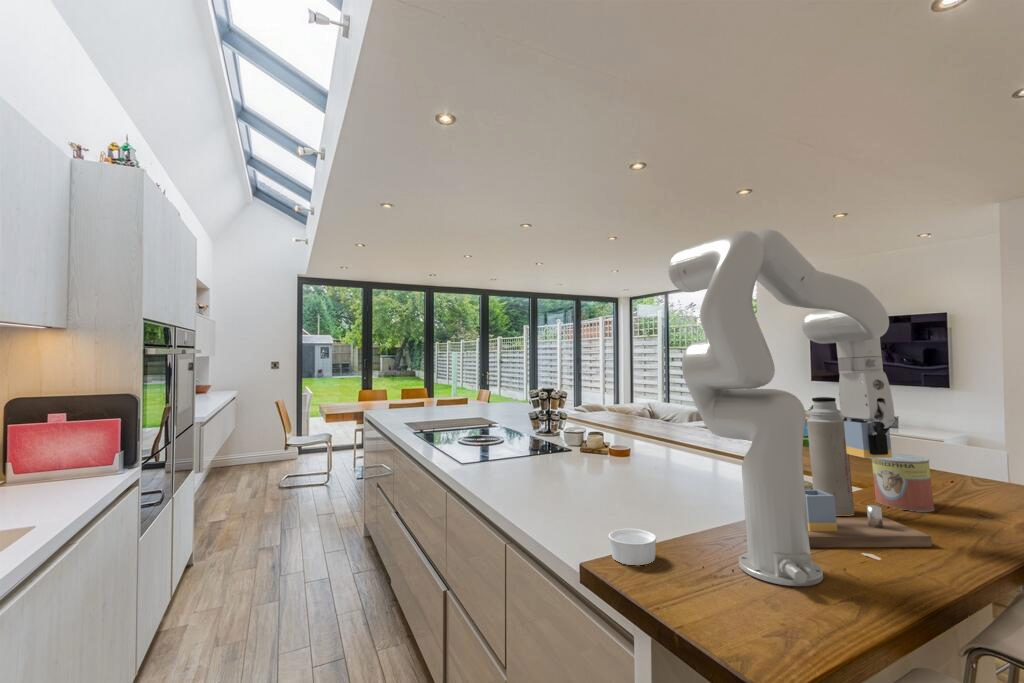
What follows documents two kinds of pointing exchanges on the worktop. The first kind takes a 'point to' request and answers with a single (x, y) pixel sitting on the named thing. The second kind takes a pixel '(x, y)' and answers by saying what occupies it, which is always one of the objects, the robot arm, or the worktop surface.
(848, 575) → the worktop surface
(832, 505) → the seated sleeve
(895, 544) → the pin board
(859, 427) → the slate sleeve
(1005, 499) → the worktop surface
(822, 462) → the thermos bottle
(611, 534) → the ramekin
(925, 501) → the canned food
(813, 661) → the worktop surface
